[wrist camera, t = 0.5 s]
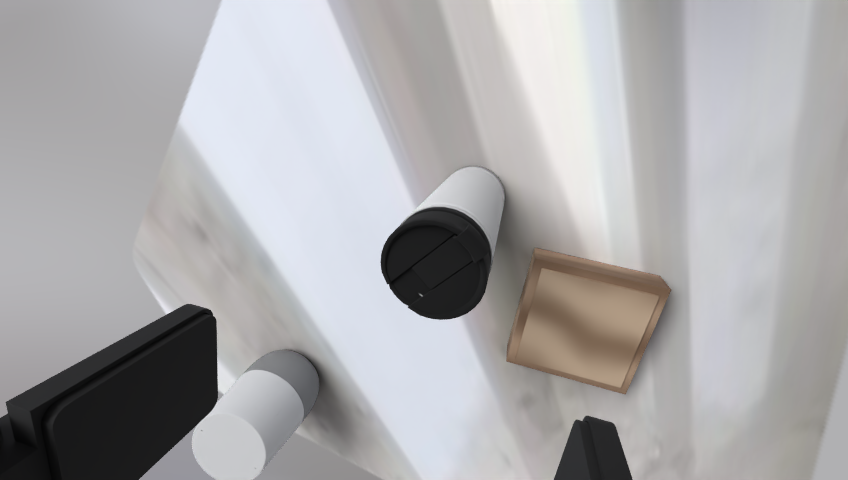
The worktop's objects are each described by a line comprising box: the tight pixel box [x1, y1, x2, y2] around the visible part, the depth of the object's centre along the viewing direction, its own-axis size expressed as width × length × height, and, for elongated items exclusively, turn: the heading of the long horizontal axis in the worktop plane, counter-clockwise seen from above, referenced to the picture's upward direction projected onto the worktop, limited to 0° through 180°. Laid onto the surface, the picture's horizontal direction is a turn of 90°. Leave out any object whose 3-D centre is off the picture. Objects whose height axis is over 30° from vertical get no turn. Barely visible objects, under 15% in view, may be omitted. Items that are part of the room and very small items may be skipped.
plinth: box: [506, 248, 671, 394], centre depth 39 cm, size 12×12×3 cm
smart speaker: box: [192, 350, 319, 480], centre depth 46 cm, size 10×9×14 cm
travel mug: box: [381, 166, 505, 320], centre depth 30 cm, size 6×7×20 cm
